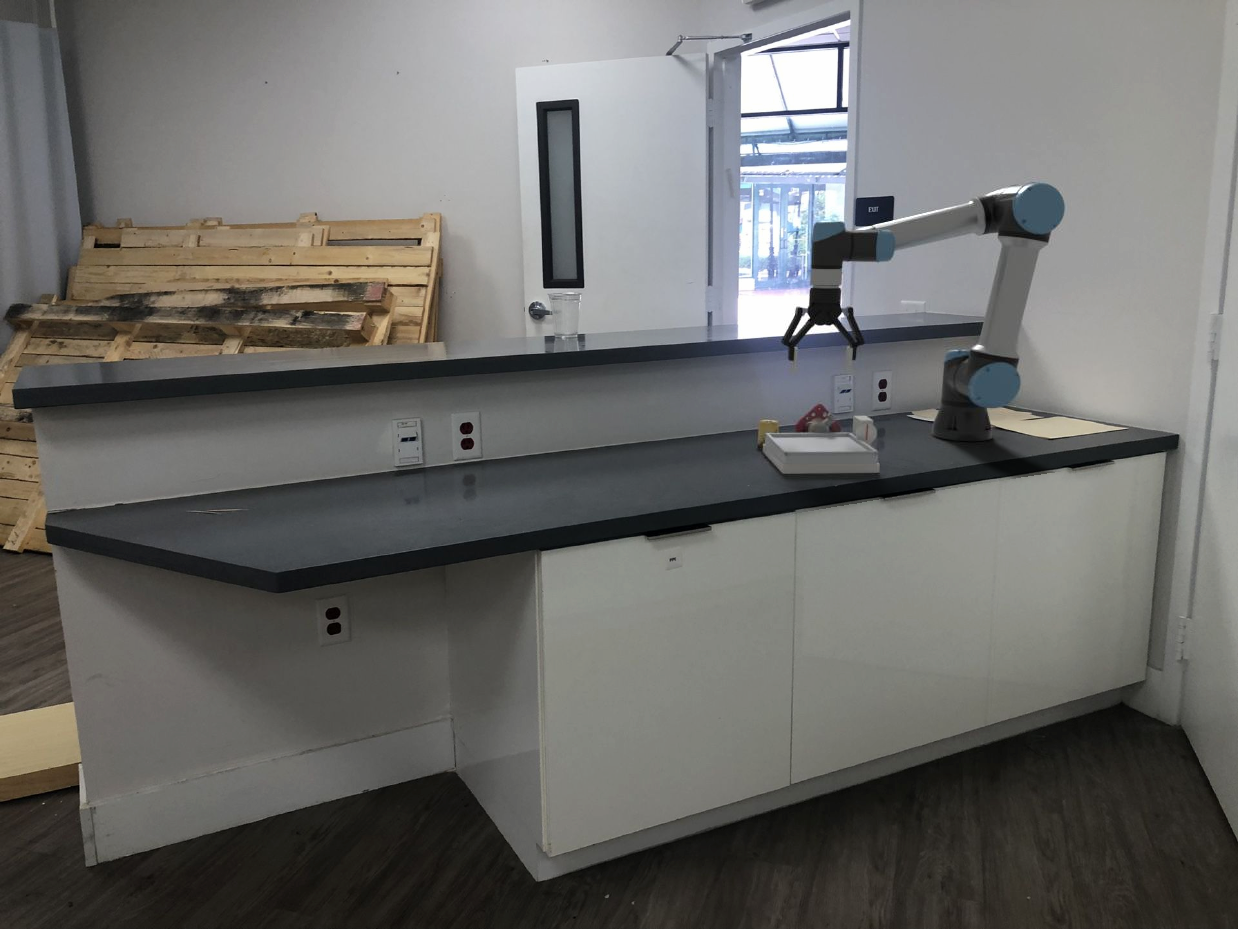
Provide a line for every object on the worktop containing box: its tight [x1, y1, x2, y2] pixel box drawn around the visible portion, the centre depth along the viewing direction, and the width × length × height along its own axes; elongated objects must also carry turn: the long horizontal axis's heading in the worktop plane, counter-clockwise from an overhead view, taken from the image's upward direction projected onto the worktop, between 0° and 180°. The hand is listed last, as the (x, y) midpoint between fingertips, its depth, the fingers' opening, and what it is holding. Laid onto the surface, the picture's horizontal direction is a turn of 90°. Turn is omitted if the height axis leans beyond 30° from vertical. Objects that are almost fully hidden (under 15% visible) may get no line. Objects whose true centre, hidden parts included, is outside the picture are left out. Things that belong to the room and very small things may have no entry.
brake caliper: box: [794, 403, 842, 433], centre depth 242 cm, size 11×11×12 cm
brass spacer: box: [757, 419, 780, 448], centre depth 245 cm, size 5×5×6 cm
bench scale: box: [762, 415, 881, 475], centre depth 227 cm, size 26×22×9 cm
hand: (821, 374), depth 239 cm, fingers open, 13 cm apart
